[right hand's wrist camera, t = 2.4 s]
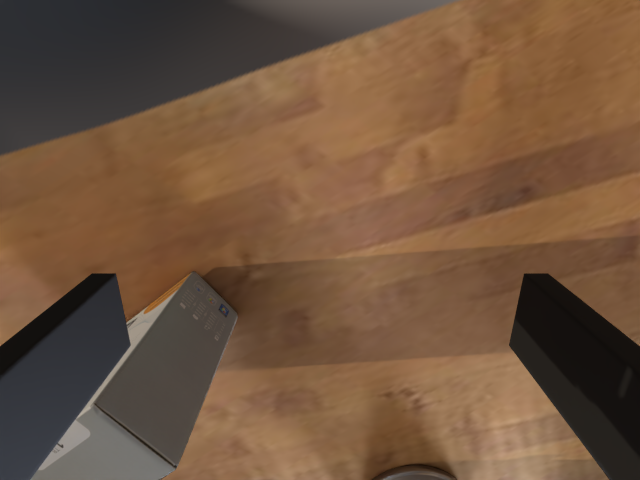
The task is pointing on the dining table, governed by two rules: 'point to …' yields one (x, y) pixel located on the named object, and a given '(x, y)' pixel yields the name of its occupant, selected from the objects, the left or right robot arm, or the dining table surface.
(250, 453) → the dining table surface
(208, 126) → the dining table surface
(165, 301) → the hard drive box
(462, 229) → the dining table surface
